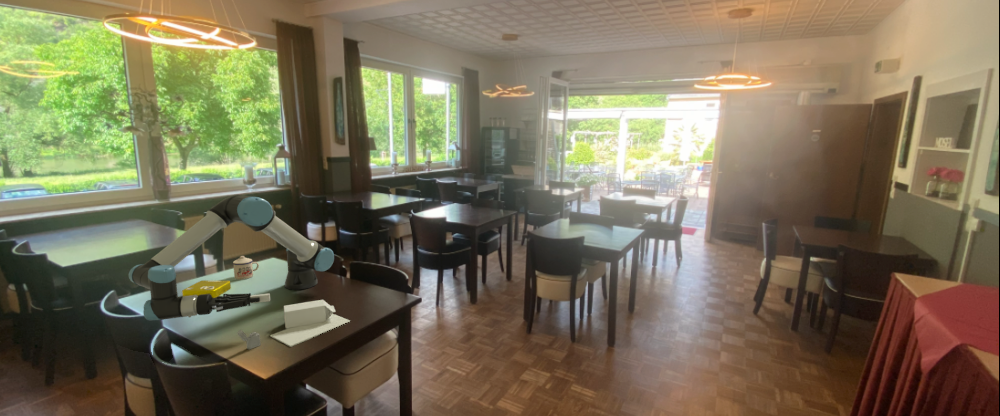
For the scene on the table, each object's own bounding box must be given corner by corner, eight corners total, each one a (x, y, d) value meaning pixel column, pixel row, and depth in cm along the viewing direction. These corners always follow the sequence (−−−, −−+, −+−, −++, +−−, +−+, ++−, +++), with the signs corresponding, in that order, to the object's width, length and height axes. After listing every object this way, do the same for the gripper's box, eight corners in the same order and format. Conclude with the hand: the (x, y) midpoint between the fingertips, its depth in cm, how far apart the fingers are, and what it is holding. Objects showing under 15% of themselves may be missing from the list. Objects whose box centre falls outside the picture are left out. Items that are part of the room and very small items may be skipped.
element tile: (232, 288, 209) (231, 279, 208) (213, 299, 194) (212, 290, 193) (202, 288, 208) (201, 279, 207) (180, 299, 193) (179, 290, 193)
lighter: (258, 343, 154) (256, 323, 153) (260, 345, 153) (259, 324, 152) (238, 351, 148) (236, 330, 147) (240, 353, 147) (238, 332, 146)
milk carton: (284, 312, 164) (335, 303, 173) (283, 305, 170) (332, 297, 179) (285, 329, 165) (336, 319, 174) (284, 321, 171) (333, 313, 180)
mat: (320, 309, 185) (320, 308, 185) (350, 321, 173) (350, 320, 173) (260, 331, 163) (260, 330, 163) (290, 347, 152) (290, 345, 152)
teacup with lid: (236, 281, 218) (234, 259, 216) (232, 276, 225) (230, 256, 223) (261, 276, 226) (260, 255, 224) (257, 272, 233) (255, 252, 231)
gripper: (203, 307, 161) (272, 300, 170) (193, 321, 149) (268, 312, 158) (201, 289, 160) (271, 282, 169) (191, 301, 148) (266, 294, 157)
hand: (269, 297), depth 163 cm, fingers closed
